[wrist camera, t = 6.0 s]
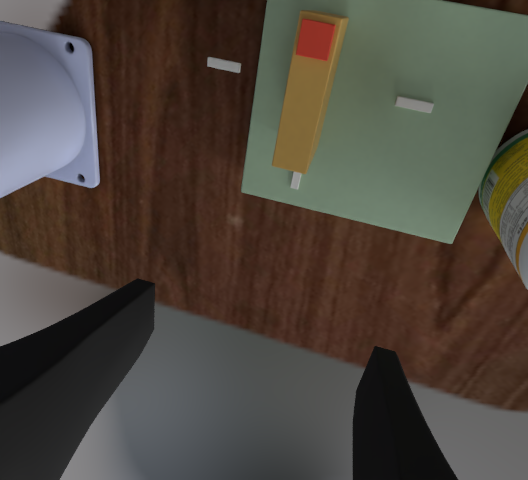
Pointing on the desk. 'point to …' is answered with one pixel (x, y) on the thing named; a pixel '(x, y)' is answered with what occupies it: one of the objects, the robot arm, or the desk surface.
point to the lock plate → (393, 110)
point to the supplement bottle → (509, 199)
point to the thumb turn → (308, 88)
